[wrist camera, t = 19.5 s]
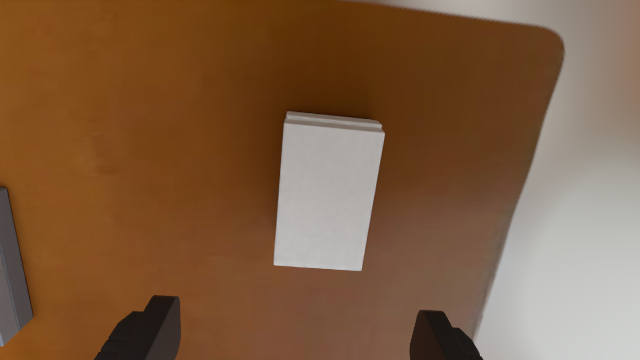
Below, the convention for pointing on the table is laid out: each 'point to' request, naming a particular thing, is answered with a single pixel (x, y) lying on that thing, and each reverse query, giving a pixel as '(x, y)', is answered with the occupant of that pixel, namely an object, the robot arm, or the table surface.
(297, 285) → the table surface
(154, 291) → the table surface
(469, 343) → the robot arm
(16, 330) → the grey books
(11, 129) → the table surface
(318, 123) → the white book
